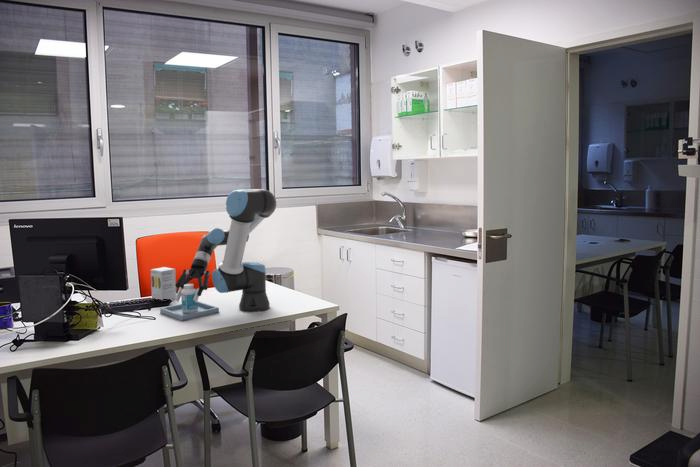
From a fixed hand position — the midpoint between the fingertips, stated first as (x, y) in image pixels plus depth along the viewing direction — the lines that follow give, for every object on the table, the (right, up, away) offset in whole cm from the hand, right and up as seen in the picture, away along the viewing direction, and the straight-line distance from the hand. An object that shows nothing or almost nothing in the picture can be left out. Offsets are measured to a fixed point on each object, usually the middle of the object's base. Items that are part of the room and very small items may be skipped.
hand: (185, 300), depth 260 cm
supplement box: (-21, -4, +31) cm, 37 cm away
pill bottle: (+1, -6, +4) cm, 7 cm away
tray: (+1, -7, +4) cm, 8 cm away
